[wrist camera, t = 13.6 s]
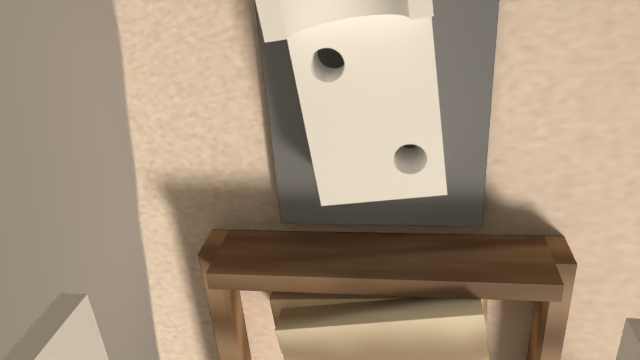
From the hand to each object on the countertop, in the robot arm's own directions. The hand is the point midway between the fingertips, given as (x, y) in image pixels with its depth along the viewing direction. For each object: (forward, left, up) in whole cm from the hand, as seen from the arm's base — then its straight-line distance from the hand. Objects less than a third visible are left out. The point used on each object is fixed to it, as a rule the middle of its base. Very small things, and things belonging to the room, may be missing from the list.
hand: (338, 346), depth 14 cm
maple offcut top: (+14, 0, -16) cm, 22 cm away
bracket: (-1, 0, -20) cm, 20 cm away
